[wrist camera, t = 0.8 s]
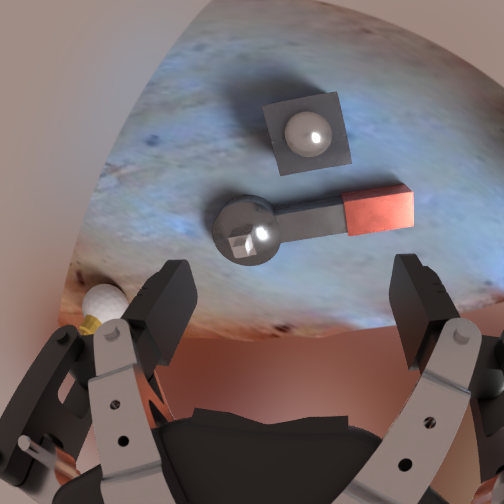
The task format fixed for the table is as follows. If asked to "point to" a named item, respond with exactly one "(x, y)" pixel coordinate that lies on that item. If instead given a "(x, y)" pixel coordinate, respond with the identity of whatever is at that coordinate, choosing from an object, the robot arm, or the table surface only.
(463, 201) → the table surface
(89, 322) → the perfume bottle
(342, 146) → the cube with chrome knob
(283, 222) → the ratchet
